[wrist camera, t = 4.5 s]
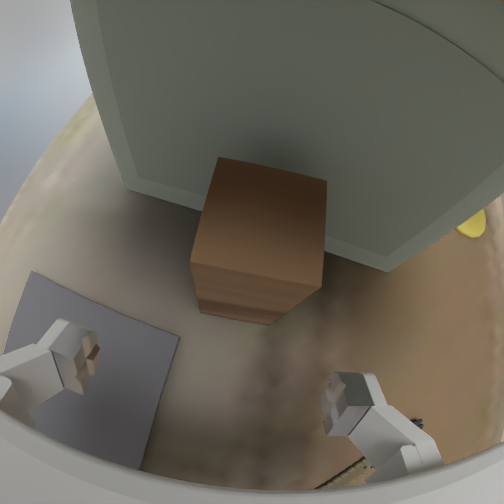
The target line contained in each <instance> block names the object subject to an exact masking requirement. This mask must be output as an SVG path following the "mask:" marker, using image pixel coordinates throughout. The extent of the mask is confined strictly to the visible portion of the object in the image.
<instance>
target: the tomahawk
mask: <svg viewBox="0 0 504 504" xmlns="http://www.w3.org/2000/svg"><path fill="white" fill-rule="evenodd" d="M421 422H422V419H418V420H416V421H414V422H412V423H414V424H415V425H416V426H417V427H419V428H420V429H421V430H422V428H423V424H420V423H421ZM419 424H420V425H419ZM372 467H373V466H372V465H371V464H370V463H369V461H368V460H367V459H366V458H365V457H364V456H363V457H362V458H361V459H360V460H359V461H356V462H355V463H353V465H352V466H349V467H348V468H346V469H345V470H344V471H342V472H340V473H339V474H338V475H336V476H334V477H333V478H331V480H328V481H327V482H326V483H323V484H322V485H320V486H318V487H317V488H315V489H324V488H336V487H346V486H348V485H349V484H350V483H353V482H354V481H356V479H359V478H360V477H362V476H363V475H364V474H366V473H367V472H369V471H370V468H372Z"/></svg>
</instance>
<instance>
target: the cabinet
mask: <svg viewBox="0 0 504 504" xmlns="http://www.w3.org/2000/svg"><path fill="white" fill-rule="evenodd" d="M70 2H71V7H72V12H73V17H74V22H75V27H76V31H77V36H78V40H79V44H80V48H81V52H82V56H83V60H84V64H85V67H86V71H87V75H88V78H89V82H90V85H91V88H92V92H93V95H94V98H95V101H96V105H97V108H98V111H99V114H100V117H101V120H102V123H103V126H104V129H105V132H106V135H107V137H108V140H109V143H110V146H111V148H112V151H113V154H114V157H115V159H116V162H117V165H118V167H119V170H120V172H121V175H122V177H123V180H124V182H125V185H126V187H127V189H128V190H132V191H135V192H138V193H142V194H145V195H149V196H152V197H155V198H159V199H162V200H166V201H169V202H172V203H176V204H179V205H182V206H185V207H189V208H192V209H195V210H199V211H203V207H204V204H205V200H206V197H207V193H208V190H209V186H210V183H211V179H212V176H213V173H214V169H215V166H216V163H217V159H218V157H223V158H228V159H234V160H239V161H244V162H249V163H254V164H259V165H263V166H268V167H273V168H277V169H282V170H286V171H290V172H295V173H299V174H303V175H307V176H311V177H315V178H319V179H323V180H326V181H327V203H326V227H325V245H324V251H326V252H329V253H332V254H335V255H338V256H341V257H343V258H346V259H349V260H352V261H355V262H358V263H361V264H364V265H367V266H370V267H372V268H375V269H378V270H381V271H384V272H387V273H388V272H390V271H392V270H393V269H395V268H396V267H398V266H400V265H401V264H403V263H404V262H406V261H408V260H409V259H411V258H412V257H414V256H415V255H417V254H419V253H420V252H422V251H423V250H425V249H426V248H428V247H429V246H431V245H432V244H434V243H435V242H437V241H438V240H440V239H441V238H443V237H444V236H445V235H447V234H448V233H450V232H451V231H453V230H454V229H456V228H457V227H458V226H460V225H461V224H463V223H464V222H465V221H467V220H468V219H470V218H471V217H472V216H474V215H475V214H476V213H478V212H479V211H480V210H482V209H483V208H484V207H486V206H487V205H488V204H490V203H491V202H492V201H493V200H495V199H496V198H497V197H499V196H500V195H501V194H502V193H504V0H70Z"/></svg>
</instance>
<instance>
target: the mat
mask: <svg viewBox="0 0 504 504" xmlns="http://www.w3.org/2000/svg"><path fill="white" fill-rule="evenodd" d="M60 318H62V319H65V320H67V321H70V322H74V323H76V324H79V325H82V326H85V327H88V328H91V329H94V330H96V331H97V333H98V338H99V339H98V341H97V343H96V344H97V345H98V346H99V347H100V350H101V361H100V365H99V368H98V370H97V372H96V373H95V374H93V375H91V376H90V379H91V383H90V385H89V387H88V389H87V391H86V393H85V395H83V394H80V393H77V392H74V391H71V390H69V389H66V388H64V389H63V390H62V391H60V392H58V393H57V394H55V395H54V396H52V397H51V398H49V399H48V400H46V401H44V402H43V403H41V404H40V405H38V406H37V407H35V408H33V409H32V410H30V411H29V414H30V416H31V417H32V419H33V421H34V423H35V427H34V429H36V430H37V431H39V432H41V433H43V434H45V435H47V436H49V437H51V438H53V439H56V440H58V441H60V442H62V443H64V444H66V445H69V446H71V447H73V448H76V449H78V450H81V451H83V452H86V453H88V454H91V455H93V456H96V457H99V458H102V459H104V460H107V461H110V462H113V463H116V464H119V465H123V466H126V467H129V468H133V469H136V470H140V467H141V463H142V459H143V456H144V452H145V449H146V445H147V442H148V438H149V435H150V431H151V428H152V425H153V421H154V418H155V414H156V411H157V408H158V405H159V401H160V398H161V395H162V392H163V389H164V385H165V382H166V379H167V376H168V373H169V370H170V367H171V363H172V360H173V357H174V354H175V351H176V348H177V345H178V342H179V339H180V337H179V336H176V335H173V334H170V333H168V332H165V331H162V330H160V329H157V328H155V327H152V326H149V325H147V324H144V323H142V322H139V321H137V320H134V319H132V318H130V317H127V316H125V315H122V314H120V313H118V312H115V311H113V310H111V309H108V308H106V307H104V306H102V305H99V304H97V303H95V302H93V301H91V300H88V299H86V298H84V297H82V296H80V295H78V294H76V293H74V292H72V291H70V290H68V289H66V288H64V287H62V286H60V285H58V284H56V283H54V282H52V281H50V280H48V279H46V278H44V277H42V276H40V275H39V274H37V273H35V272H33V271H31V273H30V276H29V278H28V281H27V283H26V286H25V288H24V291H23V294H22V296H21V299H20V302H19V305H18V308H17V310H16V313H15V316H14V320H13V323H12V326H11V329H10V332H9V336H8V339H7V343H6V347H5V350H4V354H7V353H9V352H12V351H15V350H17V349H20V348H22V347H25V346H28V345H30V344H37V343H38V342H39V341H40V339H41V338H42V337H43V336H44V334H45V333H46V332H47V331H48V330H49V328H50V327H51V326H52V325H53V324H54V322H55V321H56V320H57V319H60ZM4 354H3V355H4Z"/></svg>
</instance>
